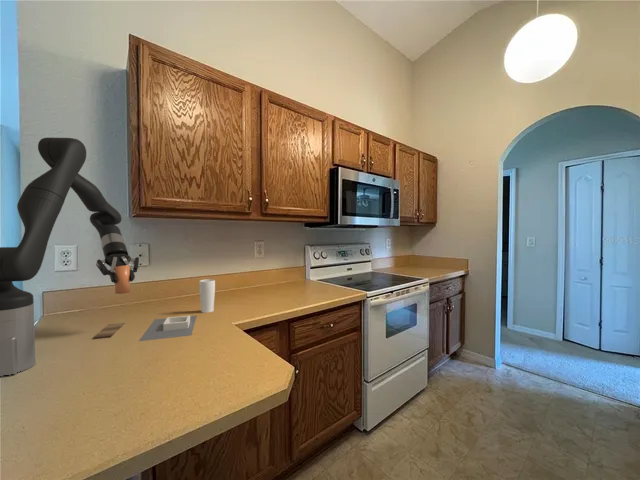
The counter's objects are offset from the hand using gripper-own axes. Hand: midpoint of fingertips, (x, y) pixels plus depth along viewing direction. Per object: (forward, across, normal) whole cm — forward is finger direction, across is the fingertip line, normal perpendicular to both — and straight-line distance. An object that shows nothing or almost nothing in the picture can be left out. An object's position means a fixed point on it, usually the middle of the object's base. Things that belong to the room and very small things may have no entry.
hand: (124, 280), depth 104 cm
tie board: (+21, +12, +6) cm, 25 cm away
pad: (+12, 0, +15) cm, 19 cm away
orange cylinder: (+2, 0, +5) cm, 5 cm away
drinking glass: (+15, +32, +12) cm, 37 cm away
